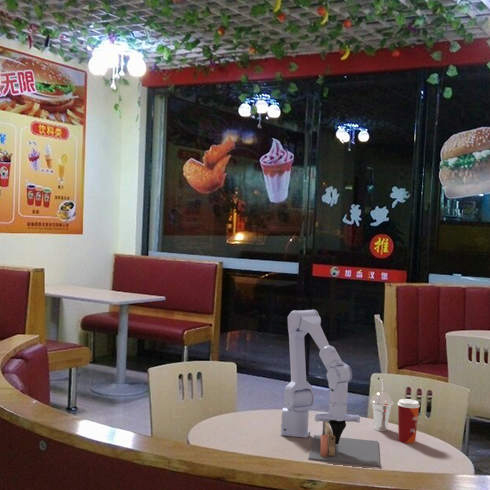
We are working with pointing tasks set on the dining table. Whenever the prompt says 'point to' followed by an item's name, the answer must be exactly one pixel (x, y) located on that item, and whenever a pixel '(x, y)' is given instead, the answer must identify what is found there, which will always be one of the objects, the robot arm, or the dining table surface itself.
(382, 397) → the cup with straw
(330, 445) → the gate
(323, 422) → the hinge post
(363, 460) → the mat
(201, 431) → the dining table surface
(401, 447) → the dining table surface
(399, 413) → the paper cup
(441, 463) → the dining table surface
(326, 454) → the post
